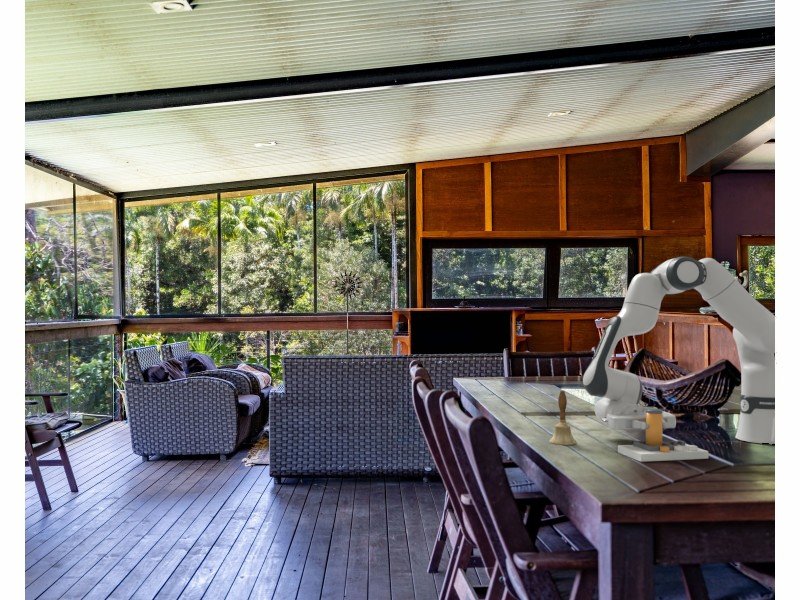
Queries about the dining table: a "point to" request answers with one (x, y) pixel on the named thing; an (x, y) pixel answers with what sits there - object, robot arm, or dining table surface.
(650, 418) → the orange capped cylinder
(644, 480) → the dining table surface
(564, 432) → the hand bell
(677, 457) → the board
